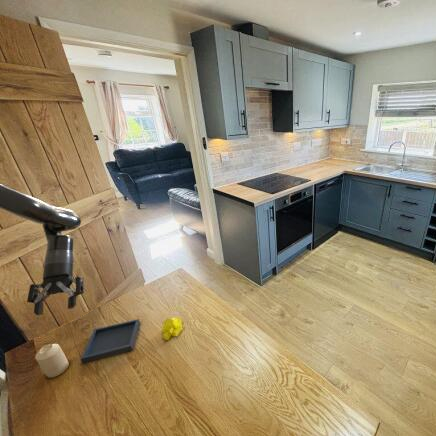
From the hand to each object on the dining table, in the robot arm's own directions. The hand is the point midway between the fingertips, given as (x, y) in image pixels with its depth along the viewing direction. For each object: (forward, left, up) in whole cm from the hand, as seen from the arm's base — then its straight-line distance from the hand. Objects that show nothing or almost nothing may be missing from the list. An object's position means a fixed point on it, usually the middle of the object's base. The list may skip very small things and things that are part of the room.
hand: (55, 311), depth 80 cm
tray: (+14, -4, -15) cm, 21 cm away
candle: (0, -10, -16) cm, 19 cm away
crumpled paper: (+34, -6, -16) cm, 38 cm away
